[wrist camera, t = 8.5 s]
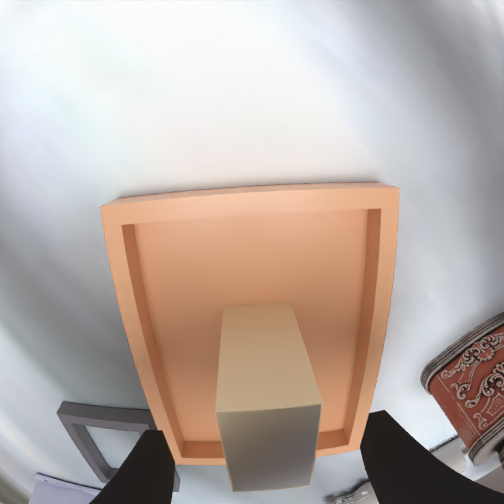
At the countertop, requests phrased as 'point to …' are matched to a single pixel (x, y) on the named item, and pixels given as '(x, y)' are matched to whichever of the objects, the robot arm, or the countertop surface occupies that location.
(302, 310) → the parts tray
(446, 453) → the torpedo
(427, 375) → the lighter
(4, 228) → the countertop surface
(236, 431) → the tan rectangular block
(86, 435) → the socket
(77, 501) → the robot arm
